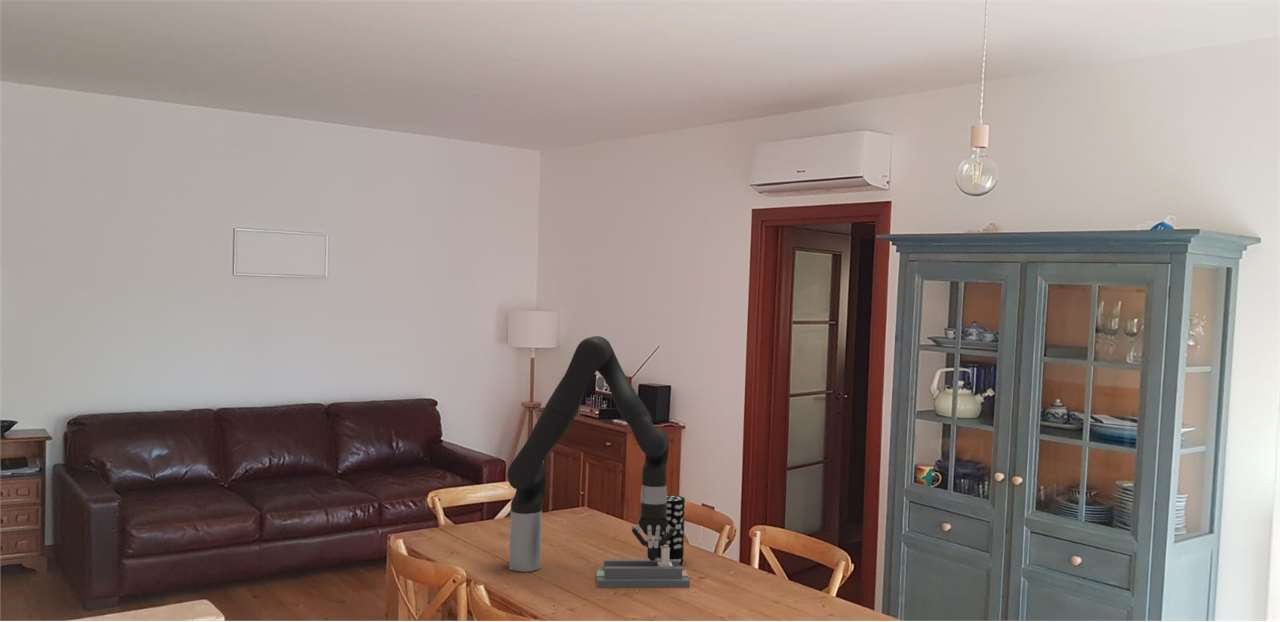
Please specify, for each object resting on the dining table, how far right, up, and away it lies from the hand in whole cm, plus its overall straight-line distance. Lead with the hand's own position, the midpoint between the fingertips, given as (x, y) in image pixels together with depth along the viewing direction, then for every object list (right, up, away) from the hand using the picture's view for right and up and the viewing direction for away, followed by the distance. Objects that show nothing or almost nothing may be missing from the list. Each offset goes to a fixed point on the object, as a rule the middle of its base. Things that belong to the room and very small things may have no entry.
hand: (652, 560), depth 273 cm
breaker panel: (-3, -6, 0) cm, 7 cm away
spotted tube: (+6, -6, +19) cm, 21 cm away
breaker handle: (+4, -4, +1) cm, 5 cm away
